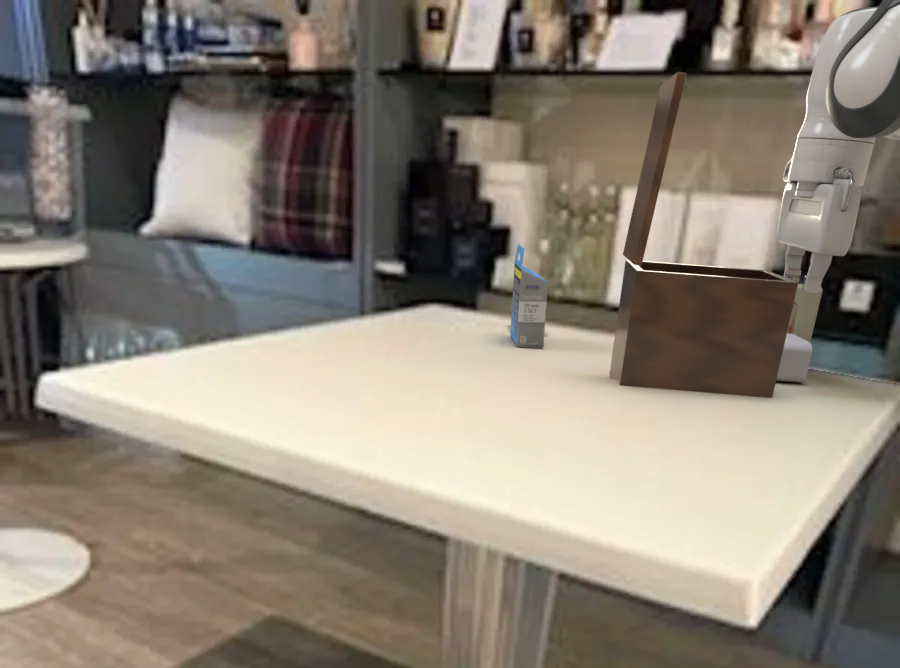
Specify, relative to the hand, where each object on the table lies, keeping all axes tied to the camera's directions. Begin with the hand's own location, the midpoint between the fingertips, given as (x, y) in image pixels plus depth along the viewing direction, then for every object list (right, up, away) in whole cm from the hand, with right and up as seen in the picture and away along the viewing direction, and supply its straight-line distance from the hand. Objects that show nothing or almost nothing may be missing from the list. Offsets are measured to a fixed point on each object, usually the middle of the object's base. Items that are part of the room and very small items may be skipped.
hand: (799, 287), depth 113 cm
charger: (-10, -12, -4) cm, 16 cm away
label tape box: (-35, -5, +7) cm, 36 cm away
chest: (-19, -17, -16) cm, 31 cm away
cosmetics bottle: (0, -9, +4) cm, 10 cm away
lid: (-25, +2, -25) cm, 35 cm away
